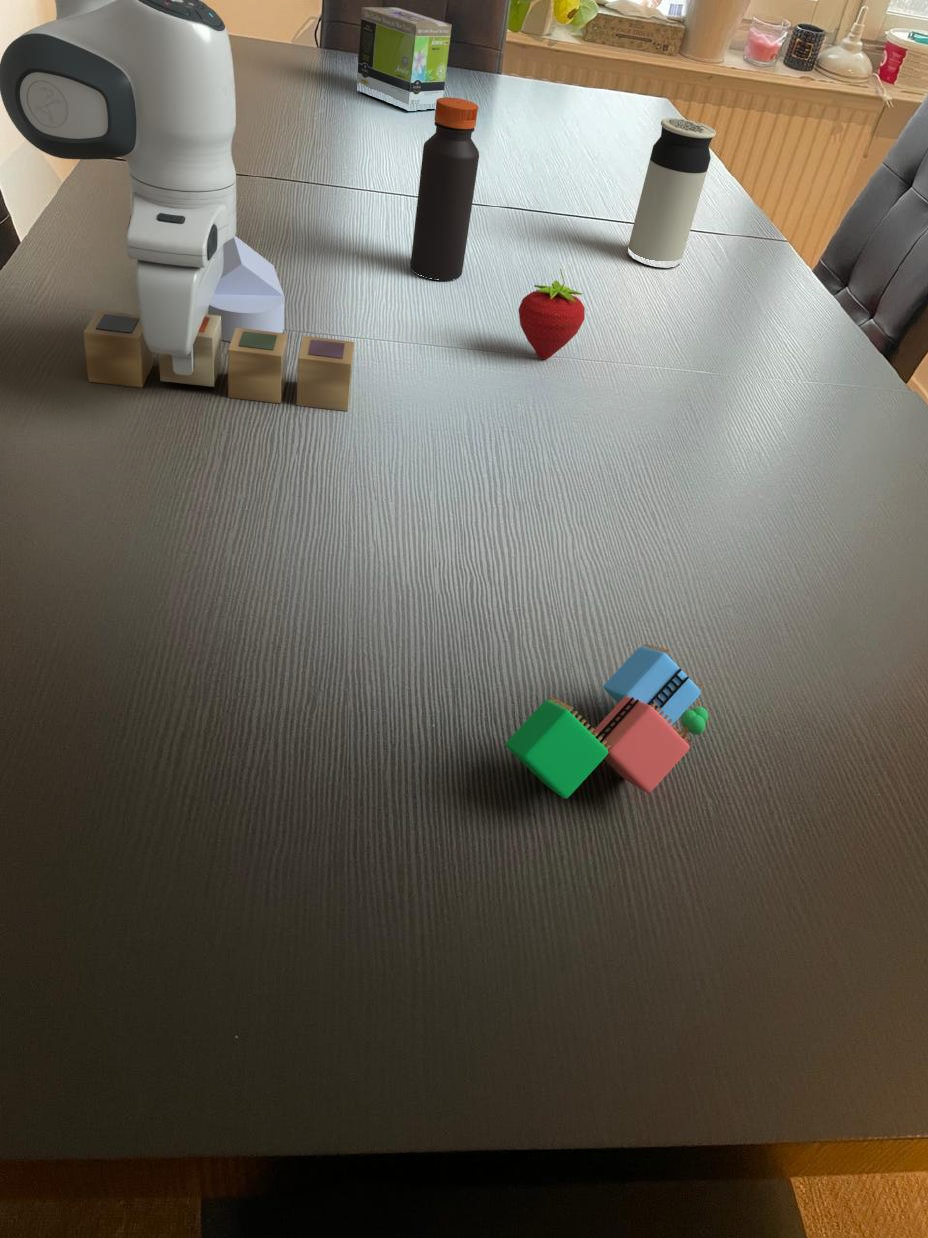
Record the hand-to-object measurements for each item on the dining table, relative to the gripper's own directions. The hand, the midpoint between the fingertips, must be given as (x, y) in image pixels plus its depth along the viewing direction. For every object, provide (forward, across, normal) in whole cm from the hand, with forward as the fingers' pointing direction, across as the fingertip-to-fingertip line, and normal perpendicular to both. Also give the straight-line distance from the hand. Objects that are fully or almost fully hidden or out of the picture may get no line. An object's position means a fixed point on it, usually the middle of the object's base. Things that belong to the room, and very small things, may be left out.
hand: (190, 356), depth 95 cm
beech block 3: (+2, 0, +13) cm, 13 cm away
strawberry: (+3, -15, +36) cm, 39 cm away
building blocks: (+3, +45, +34) cm, 57 cm away
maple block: (+2, 0, 0) cm, 2 cm away
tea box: (+3, -124, +18) cm, 125 cm away
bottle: (+3, -37, +24) cm, 44 cm away
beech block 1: (+2, 0, -7) cm, 7 cm away
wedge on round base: (+3, -16, +2) cm, 16 cm away
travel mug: (+3, -53, +56) cm, 77 cm away
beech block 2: (+2, 0, +6) cm, 7 cm away
